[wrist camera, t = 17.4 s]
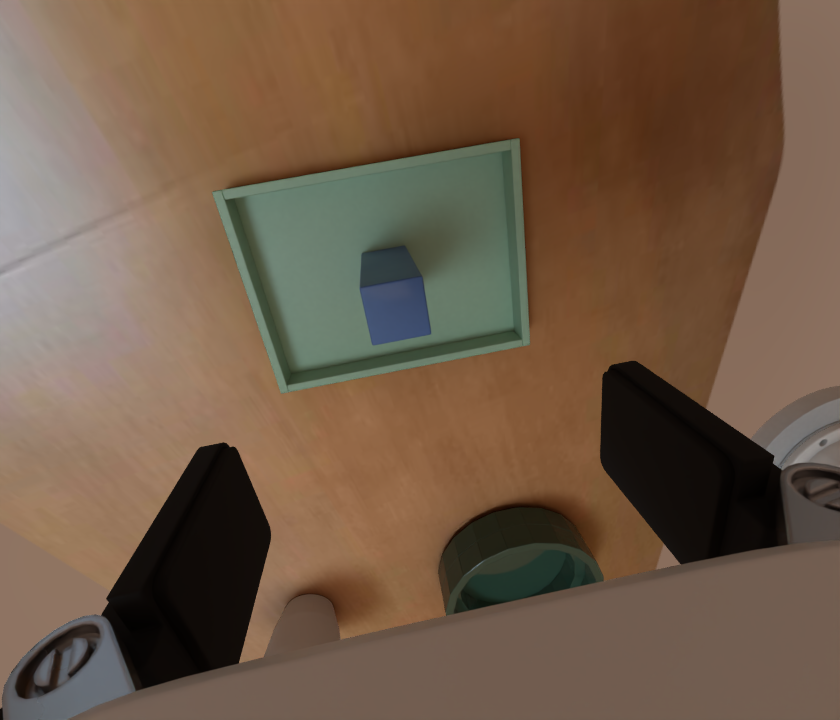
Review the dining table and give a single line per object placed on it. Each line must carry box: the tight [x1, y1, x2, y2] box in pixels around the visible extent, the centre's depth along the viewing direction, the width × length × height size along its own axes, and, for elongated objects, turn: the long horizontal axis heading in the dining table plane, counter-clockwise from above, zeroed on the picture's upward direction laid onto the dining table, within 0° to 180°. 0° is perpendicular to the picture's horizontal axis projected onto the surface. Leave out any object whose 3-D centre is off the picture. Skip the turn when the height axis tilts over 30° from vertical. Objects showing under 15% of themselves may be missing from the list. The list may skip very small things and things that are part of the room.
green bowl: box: [438, 507, 604, 616], centre depth 43 cm, size 16×16×5 cm
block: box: [359, 246, 431, 345], centre depth 26 cm, size 3×3×10 cm
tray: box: [212, 138, 530, 393], centre depth 30 cm, size 19×14×2 cm
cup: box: [264, 594, 340, 657], centre depth 40 cm, size 8×8×10 cm
